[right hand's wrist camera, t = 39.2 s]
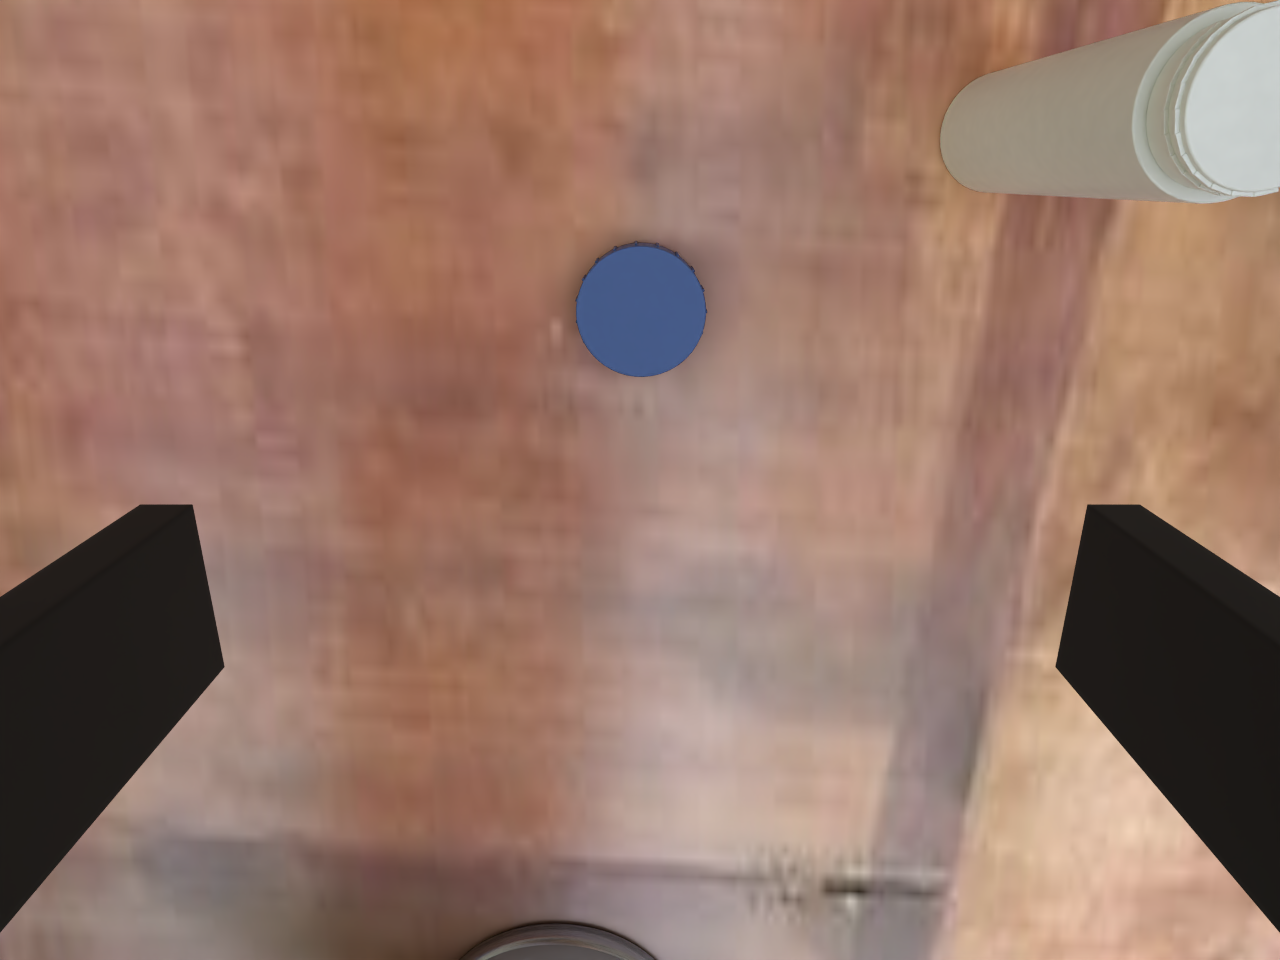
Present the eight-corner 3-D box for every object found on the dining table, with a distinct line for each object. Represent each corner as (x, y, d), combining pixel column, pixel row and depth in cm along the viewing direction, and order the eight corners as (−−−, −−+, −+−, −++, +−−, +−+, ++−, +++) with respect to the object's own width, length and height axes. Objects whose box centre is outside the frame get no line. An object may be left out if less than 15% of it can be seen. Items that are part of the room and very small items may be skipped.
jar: (934, 85, 35) (1172, 14, 19) (1050, 59, 35) (1386, -36, 19) (944, 203, 37) (1170, 224, 21) (1055, 179, 36) (1369, 182, 21)
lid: (644, 394, 40) (644, 404, 38) (551, 309, 38) (546, 316, 36) (730, 303, 38) (734, 310, 36) (637, 212, 37) (637, 214, 35)
